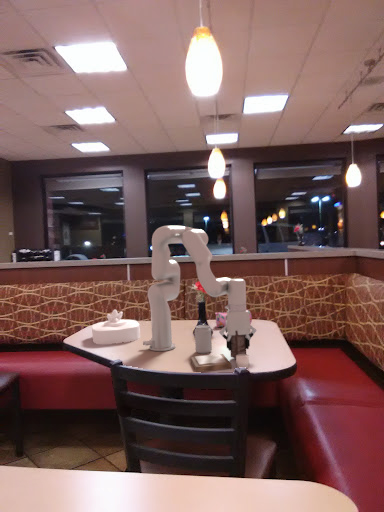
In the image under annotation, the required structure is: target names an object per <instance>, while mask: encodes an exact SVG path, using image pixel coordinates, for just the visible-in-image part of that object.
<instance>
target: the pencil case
mask: <svg viewBox="0 0 384 512" xmlns="http://www.w3.org/2000/svg"><path fill="white" fill-rule="evenodd" d="M246 310H247V311H248V312H249V318H250V325H252V323H253V318H252V317H253V316H252V312H251V311H250V310H249V309H246ZM214 314H215V325H216V328H224V327H225V326H226V315H227V312H225V311H224V312H222V311H219V312H215V313H214Z"/></svg>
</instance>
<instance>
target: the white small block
mask: <svg viewBox="0 0 384 512" xmlns="http://www.w3.org/2000/svg"><path fill="white" fill-rule="evenodd" d="M249 357H250V356H249V354H247V353H246V354H238V355H236V358H235V359H236V361H235V362H236V363H235V364H236V365H235V366H236V368H237V367H246V369H248V367H249V368H250V358H249Z"/></svg>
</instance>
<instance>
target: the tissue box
mask: <svg viewBox="0 0 384 512" xmlns="http://www.w3.org/2000/svg"><path fill="white" fill-rule="evenodd" d="M123 315H124V312H123V310H121V311H119V312H118V310H117V309H116V308H115V309H113V310H112V312H111V314H110V313H107V314H106V318H107V320H105V321H99V322H97V323H94V324H92V325H91V334H92V335H91V337H92V341H93V343H94V344H95V343H96V345H113V344H112V343H116V344H121V343H122V342H124V343H130V341H131V342H135V341H138V340H140V339H141V329H140V328H141V327H140V325H141V324H140V323H139V322H138V320H136V319H122V317H123ZM139 338H140V339H139Z"/></svg>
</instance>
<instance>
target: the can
mask: <svg viewBox="0 0 384 512" xmlns="http://www.w3.org/2000/svg"><path fill="white" fill-rule="evenodd" d="M194 343H195V352H197V354H202V355H203V354H209V353H211V351H212V350H213V346H212V344H213V343H212V329H211V327H210V325H208V324H200V325H196V326H195V329H194Z"/></svg>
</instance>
